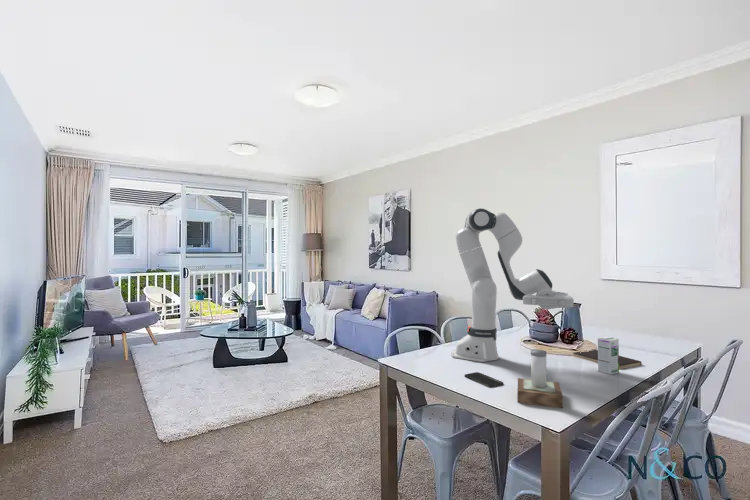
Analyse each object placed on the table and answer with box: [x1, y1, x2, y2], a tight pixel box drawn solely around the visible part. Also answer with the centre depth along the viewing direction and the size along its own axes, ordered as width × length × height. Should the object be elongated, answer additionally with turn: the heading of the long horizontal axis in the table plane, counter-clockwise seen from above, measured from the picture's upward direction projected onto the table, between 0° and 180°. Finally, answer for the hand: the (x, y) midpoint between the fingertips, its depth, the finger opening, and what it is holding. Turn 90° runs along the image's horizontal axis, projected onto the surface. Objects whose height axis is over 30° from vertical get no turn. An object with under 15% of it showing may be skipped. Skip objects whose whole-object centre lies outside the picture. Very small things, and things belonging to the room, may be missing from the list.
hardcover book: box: [572, 349, 643, 370], centre depth 186 cm, size 16×23×2 cm
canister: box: [530, 348, 548, 388], centre depth 139 cm, size 5×5×12 cm
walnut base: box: [516, 377, 564, 409], centre depth 139 cm, size 14×14×4 cm
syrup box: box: [597, 336, 620, 376], centre depth 168 cm, size 6×6×14 cm
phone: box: [464, 371, 504, 388], centre depth 157 cm, size 8×1×15 cm
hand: (548, 303), depth 166 cm, fingers open, 8 cm apart
